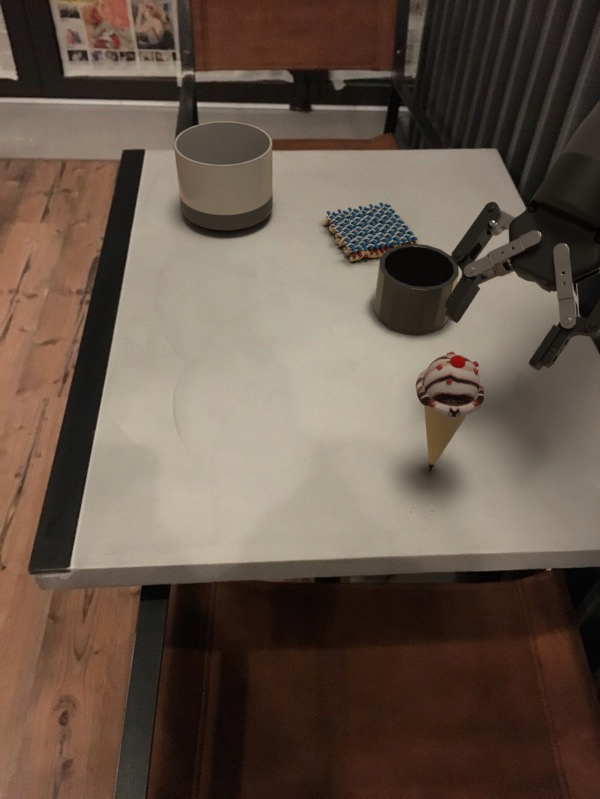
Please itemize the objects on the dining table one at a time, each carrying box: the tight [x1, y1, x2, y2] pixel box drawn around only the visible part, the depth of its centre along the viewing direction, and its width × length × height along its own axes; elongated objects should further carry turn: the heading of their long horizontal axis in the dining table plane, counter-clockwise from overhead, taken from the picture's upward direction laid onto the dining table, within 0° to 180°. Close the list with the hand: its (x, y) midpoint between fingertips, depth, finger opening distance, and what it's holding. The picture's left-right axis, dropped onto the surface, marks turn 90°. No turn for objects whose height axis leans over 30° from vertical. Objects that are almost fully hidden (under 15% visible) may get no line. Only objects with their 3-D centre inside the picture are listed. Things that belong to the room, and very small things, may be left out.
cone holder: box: [373, 243, 460, 336], centre depth 80 cm, size 9×9×6 cm
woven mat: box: [323, 202, 420, 263], centre depth 93 cm, size 10×11×2 cm
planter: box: [173, 120, 274, 231], centre depth 93 cm, size 13×13×10 cm
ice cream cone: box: [415, 351, 485, 473], centre depth 60 cm, size 6×6×15 cm
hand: (491, 342), depth 59 cm, fingers open, 8 cm apart
